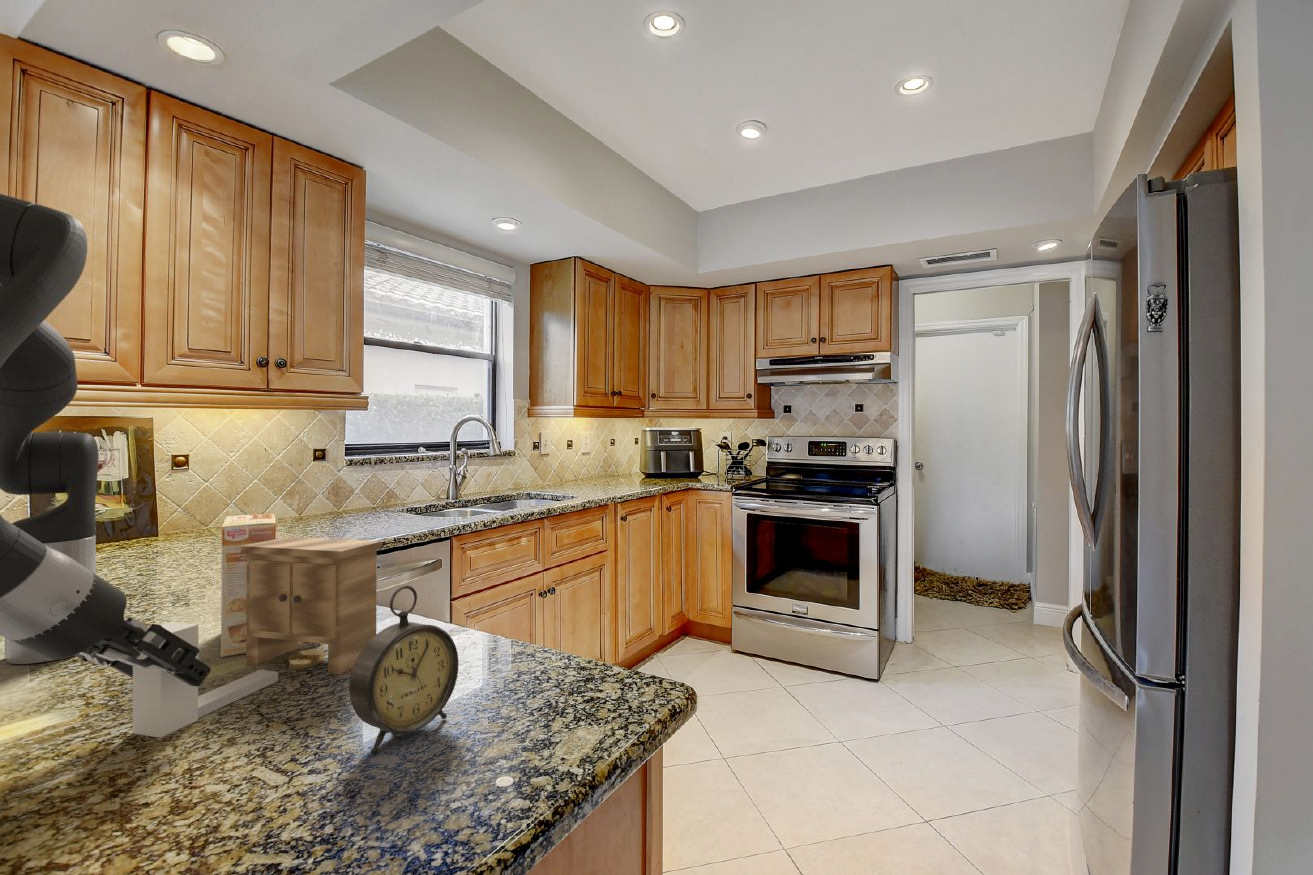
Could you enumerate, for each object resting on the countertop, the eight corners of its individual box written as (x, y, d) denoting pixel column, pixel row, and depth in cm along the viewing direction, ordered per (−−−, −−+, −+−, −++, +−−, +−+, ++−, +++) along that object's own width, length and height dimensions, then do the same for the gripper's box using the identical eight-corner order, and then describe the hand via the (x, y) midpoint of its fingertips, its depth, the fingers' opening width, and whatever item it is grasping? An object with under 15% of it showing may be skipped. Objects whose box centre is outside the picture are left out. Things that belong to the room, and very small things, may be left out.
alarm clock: (371, 764, 57) (371, 601, 57) (340, 749, 60) (341, 593, 60) (461, 719, 66) (461, 578, 66) (431, 707, 69) (431, 572, 69)
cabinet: (237, 665, 82) (238, 546, 82) (288, 645, 90) (288, 536, 90) (338, 677, 78) (338, 551, 78) (381, 654, 86) (381, 541, 86)
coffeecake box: (276, 648, 89) (276, 522, 89) (218, 658, 85) (219, 526, 85) (274, 623, 101) (275, 512, 101) (224, 630, 97) (224, 515, 97)
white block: (132, 733, 63) (133, 632, 63) (256, 678, 78) (257, 596, 78) (160, 737, 62) (161, 635, 62) (281, 681, 77) (281, 598, 77)
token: (281, 668, 82) (281, 658, 82) (306, 657, 86) (306, 647, 86) (307, 671, 81) (307, 661, 81) (331, 660, 85) (331, 650, 85)
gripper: (135, 570, 55) (245, 648, 66) (29, 563, 59) (151, 638, 70) (66, 645, 50) (199, 715, 61) (-45, 632, 54) (99, 701, 65)
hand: (173, 674), depth 65 cm, fingers open, 8 cm apart
